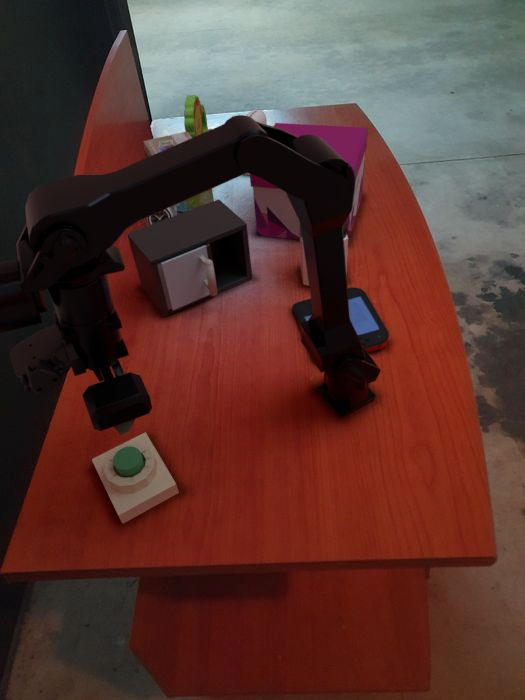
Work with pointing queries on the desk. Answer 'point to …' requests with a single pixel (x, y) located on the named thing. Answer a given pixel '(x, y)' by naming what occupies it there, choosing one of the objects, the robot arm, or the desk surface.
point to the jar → (302, 254)
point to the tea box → (165, 143)
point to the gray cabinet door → (190, 277)
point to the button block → (136, 480)
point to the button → (128, 461)
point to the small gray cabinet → (186, 235)
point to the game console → (355, 319)
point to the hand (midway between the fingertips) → (113, 404)
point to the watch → (162, 215)
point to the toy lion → (195, 116)
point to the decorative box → (274, 203)
